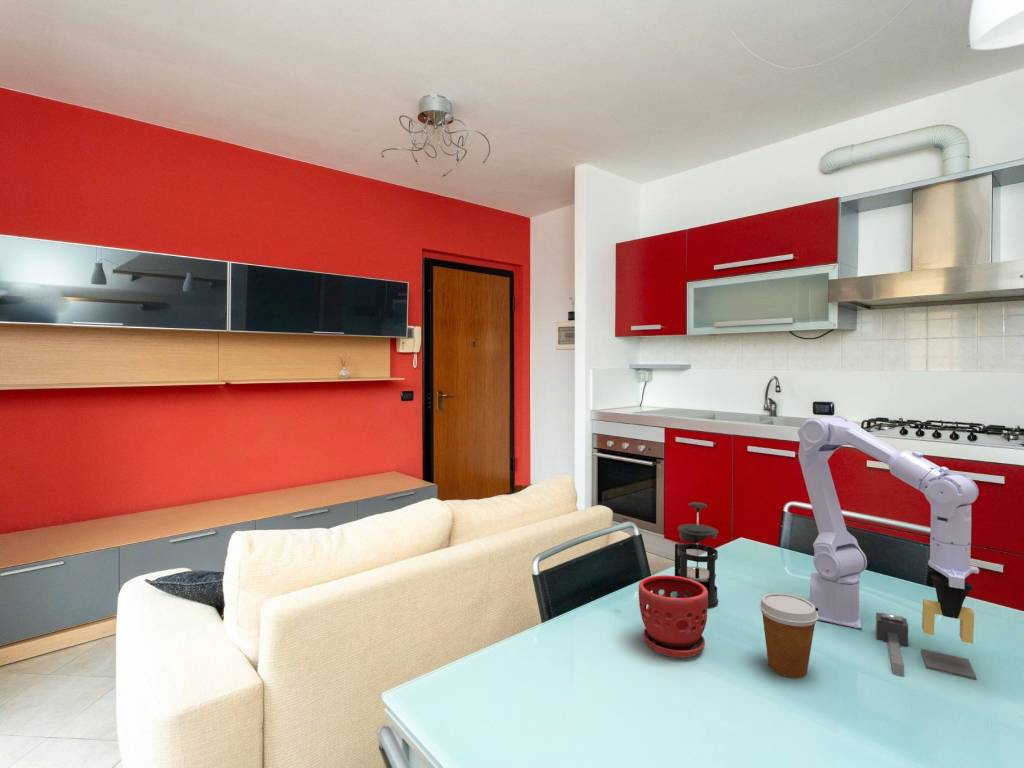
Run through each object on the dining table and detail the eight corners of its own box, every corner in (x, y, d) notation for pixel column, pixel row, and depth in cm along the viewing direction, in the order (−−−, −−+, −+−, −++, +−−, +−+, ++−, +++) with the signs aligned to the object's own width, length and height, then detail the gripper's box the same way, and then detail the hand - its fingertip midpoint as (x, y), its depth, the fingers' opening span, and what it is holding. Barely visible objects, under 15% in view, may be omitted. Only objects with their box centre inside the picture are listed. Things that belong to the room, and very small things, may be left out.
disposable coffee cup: (795, 689, 89) (796, 619, 89) (747, 661, 98) (748, 598, 97) (829, 674, 94) (830, 608, 93) (780, 649, 102) (781, 588, 102)
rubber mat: (926, 668, 96) (926, 665, 96) (921, 650, 102) (921, 648, 102) (976, 679, 92) (976, 677, 92) (968, 661, 98) (968, 659, 98)
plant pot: (718, 644, 104) (719, 584, 104) (689, 672, 94) (690, 606, 94) (657, 622, 113) (658, 567, 113) (625, 646, 103) (626, 585, 103)
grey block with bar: (881, 670, 95) (881, 644, 95) (875, 631, 109) (876, 608, 109) (916, 679, 92) (916, 652, 92) (905, 637, 107) (906, 614, 106)
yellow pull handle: (923, 632, 98) (924, 603, 97) (921, 627, 100) (922, 598, 100) (973, 643, 94) (974, 613, 94) (970, 637, 96) (971, 608, 96)
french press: (729, 604, 122) (730, 506, 121) (700, 613, 117) (701, 511, 117) (690, 586, 132) (691, 495, 131) (662, 593, 128) (663, 499, 127)
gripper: (988, 556, 88) (986, 636, 88) (970, 533, 100) (968, 603, 101) (935, 548, 92) (933, 625, 92) (923, 527, 104) (922, 595, 104)
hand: (948, 613), depth 97 cm, fingers closed on yellow pull handle, 2 cm apart
